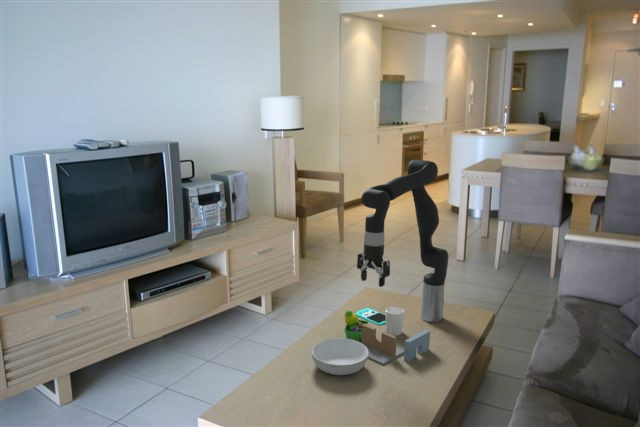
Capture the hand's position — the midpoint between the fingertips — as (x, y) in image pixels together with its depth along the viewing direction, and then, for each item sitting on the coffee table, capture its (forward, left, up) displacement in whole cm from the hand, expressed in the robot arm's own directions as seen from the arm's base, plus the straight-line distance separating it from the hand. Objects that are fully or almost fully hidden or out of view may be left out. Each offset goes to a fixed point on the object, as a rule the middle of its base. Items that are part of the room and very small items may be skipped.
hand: (372, 283), depth 199 cm
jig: (-2, +2, -28) cm, 29 cm away
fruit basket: (-5, -13, -29) cm, 32 cm away
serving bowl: (+18, 0, -29) cm, 34 cm away
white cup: (-20, -4, -29) cm, 35 cm away
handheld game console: (-26, -20, -29) cm, 44 cm away
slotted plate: (-11, +14, -29) cm, 34 cm away
